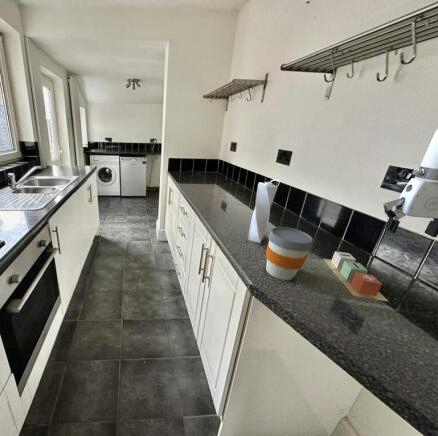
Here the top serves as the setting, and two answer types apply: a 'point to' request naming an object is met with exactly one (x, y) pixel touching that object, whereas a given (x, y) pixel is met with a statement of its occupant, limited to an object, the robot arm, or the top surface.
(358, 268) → the green cube
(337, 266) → the white cube
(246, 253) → the top surface
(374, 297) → the word mat
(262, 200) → the twisted white column
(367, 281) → the orange red cube
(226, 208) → the top surface
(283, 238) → the reusable coffee cup
